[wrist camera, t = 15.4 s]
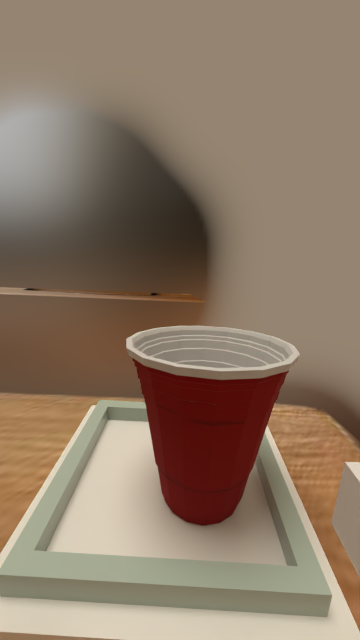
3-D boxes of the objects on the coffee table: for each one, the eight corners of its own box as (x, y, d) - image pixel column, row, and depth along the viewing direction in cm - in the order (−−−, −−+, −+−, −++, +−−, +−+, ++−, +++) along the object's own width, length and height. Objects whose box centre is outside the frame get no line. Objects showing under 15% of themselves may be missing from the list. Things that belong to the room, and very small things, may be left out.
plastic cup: (254, 441, 26) (269, 318, 23) (301, 570, 16) (339, 375, 13) (139, 437, 26) (139, 313, 23) (110, 562, 16) (103, 366, 13)
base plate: (-42, 646, 13) (-52, 605, 13) (92, 414, 32) (91, 393, 31) (365, 673, 13) (377, 632, 12) (261, 423, 31) (263, 401, 31)
